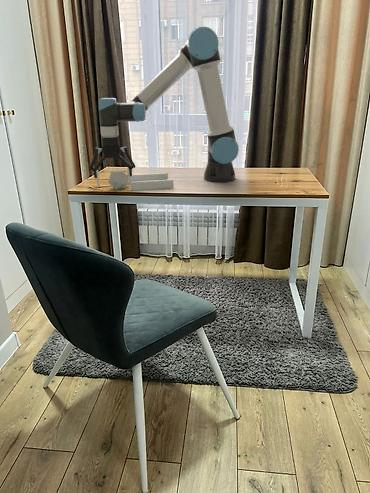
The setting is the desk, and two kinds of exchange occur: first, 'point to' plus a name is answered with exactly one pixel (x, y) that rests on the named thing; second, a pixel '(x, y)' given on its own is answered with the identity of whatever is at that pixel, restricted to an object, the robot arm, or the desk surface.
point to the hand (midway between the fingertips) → (113, 184)
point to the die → (118, 179)
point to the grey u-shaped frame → (150, 181)
